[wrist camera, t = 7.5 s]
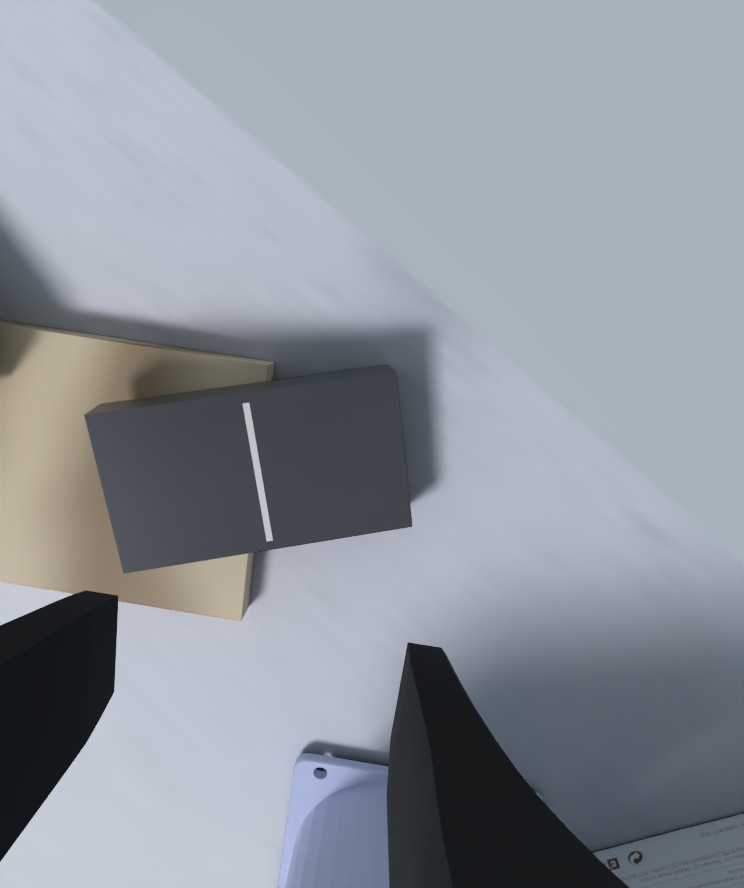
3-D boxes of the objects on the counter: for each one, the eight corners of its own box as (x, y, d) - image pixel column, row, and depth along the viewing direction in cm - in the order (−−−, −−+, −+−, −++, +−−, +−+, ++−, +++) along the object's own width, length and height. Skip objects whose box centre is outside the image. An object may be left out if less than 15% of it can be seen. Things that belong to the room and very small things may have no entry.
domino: (100, 403, 19) (387, 364, 20) (135, 551, 20) (403, 508, 21) (83, 414, 17) (396, 372, 18) (123, 574, 19) (412, 526, 20)
